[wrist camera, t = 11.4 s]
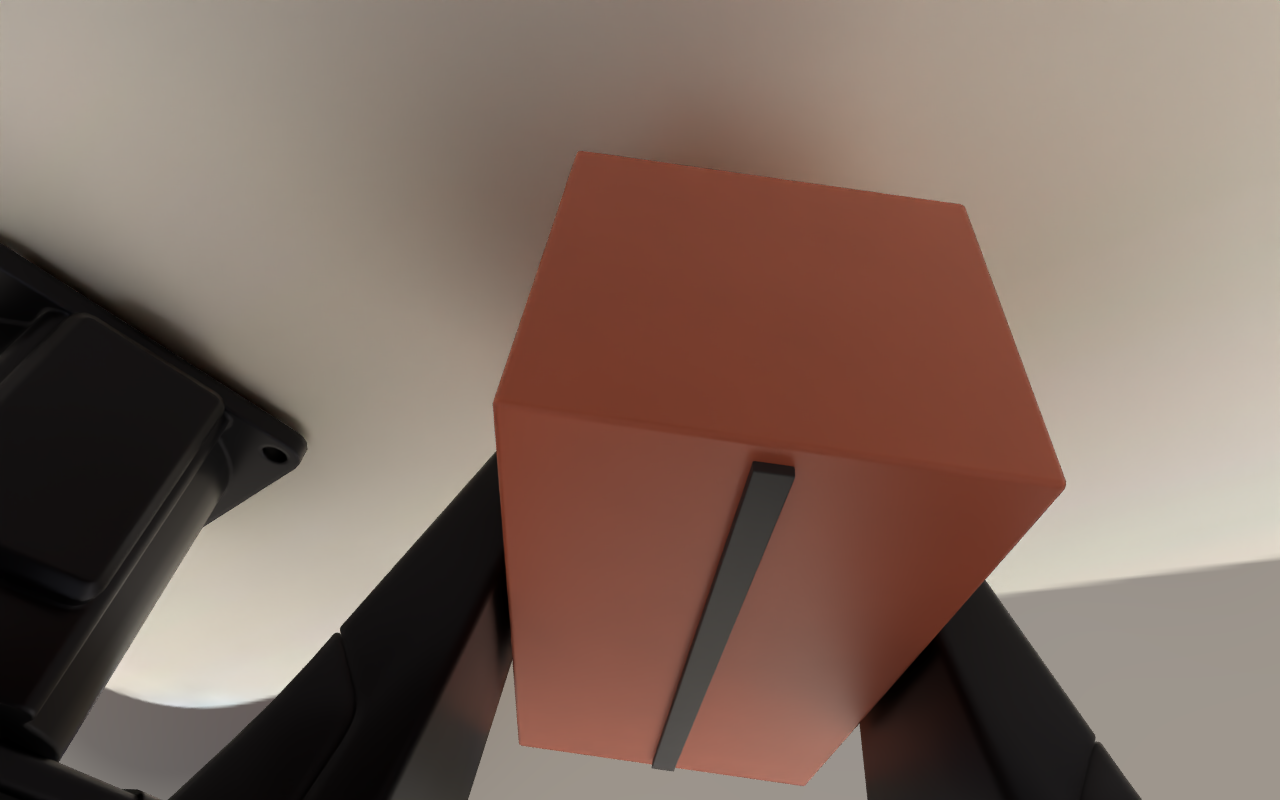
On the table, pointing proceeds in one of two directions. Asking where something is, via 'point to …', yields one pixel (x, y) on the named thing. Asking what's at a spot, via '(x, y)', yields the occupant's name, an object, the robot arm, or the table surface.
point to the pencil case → (750, 462)
